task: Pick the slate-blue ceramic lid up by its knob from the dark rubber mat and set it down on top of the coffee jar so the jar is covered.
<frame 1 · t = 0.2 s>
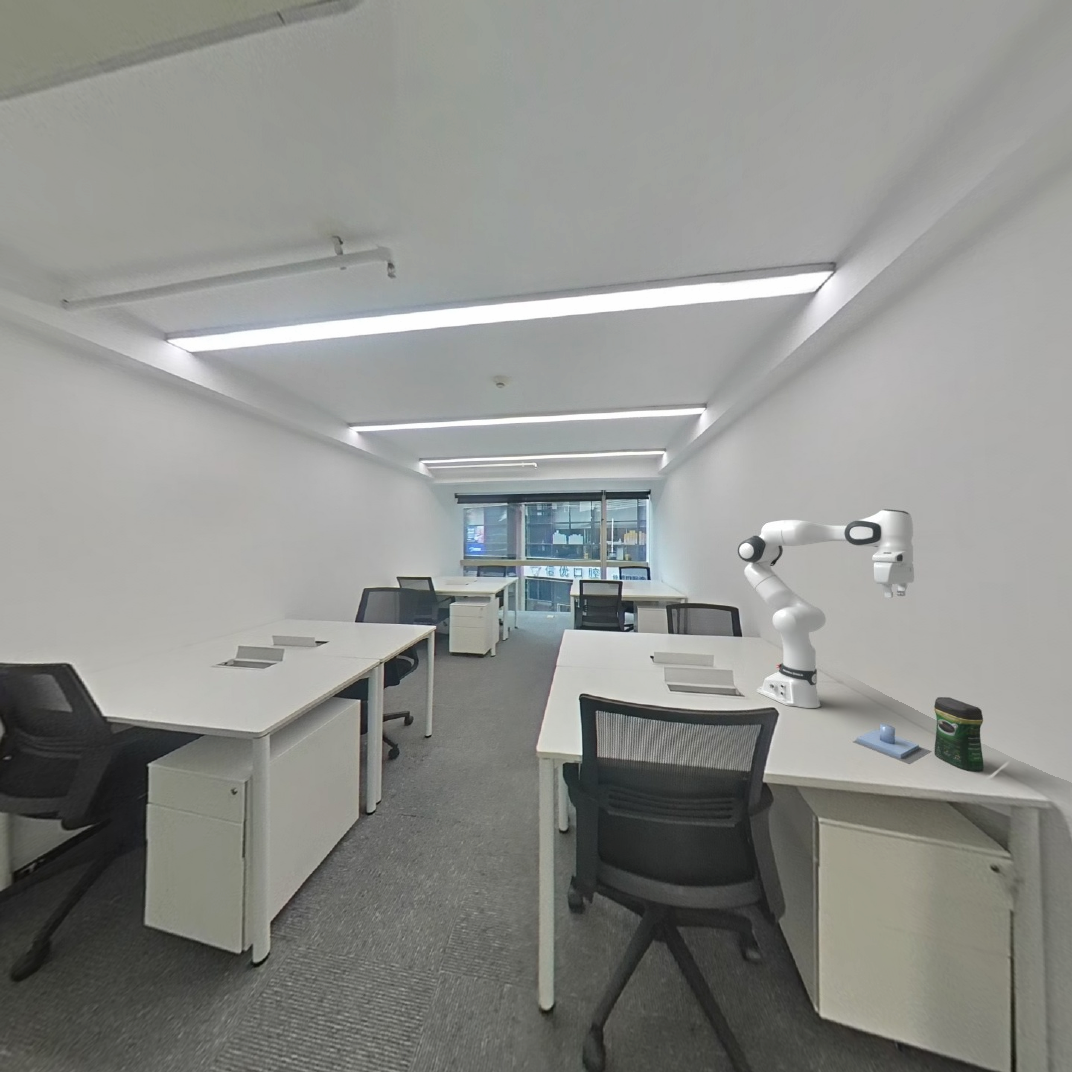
hand: (895, 596, 131), 47 cm above the table, tool pointing down, fingers open, 8 cm apart
coffee jar: (958, 764, 114), on the table
lid: (887, 744, 123), resting on mat
mat: (891, 747, 122), on the table
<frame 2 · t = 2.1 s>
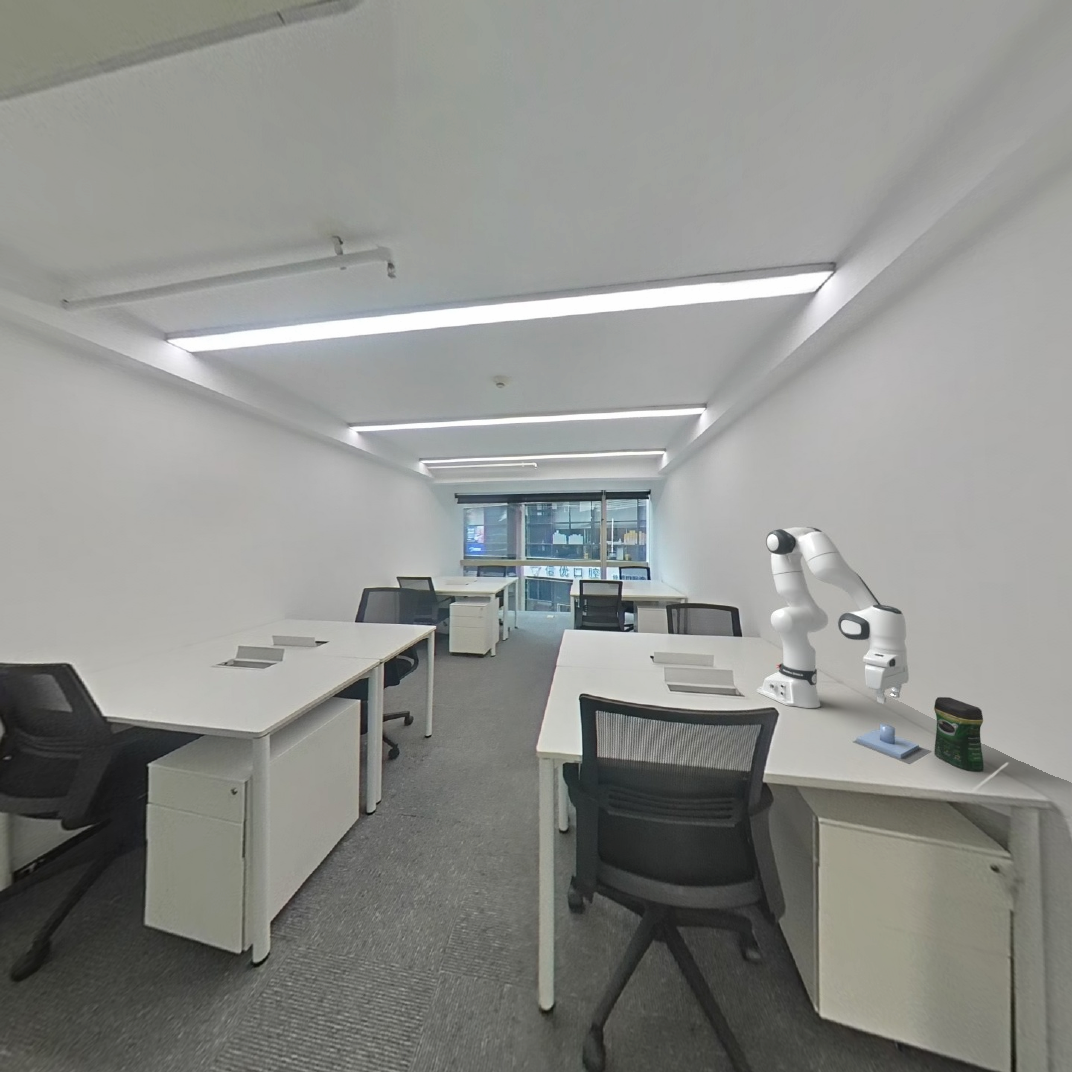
hand: (888, 699, 123), 15 cm above the table, tool pointing down, fingers open, 8 cm apart
nothing on the table moved.
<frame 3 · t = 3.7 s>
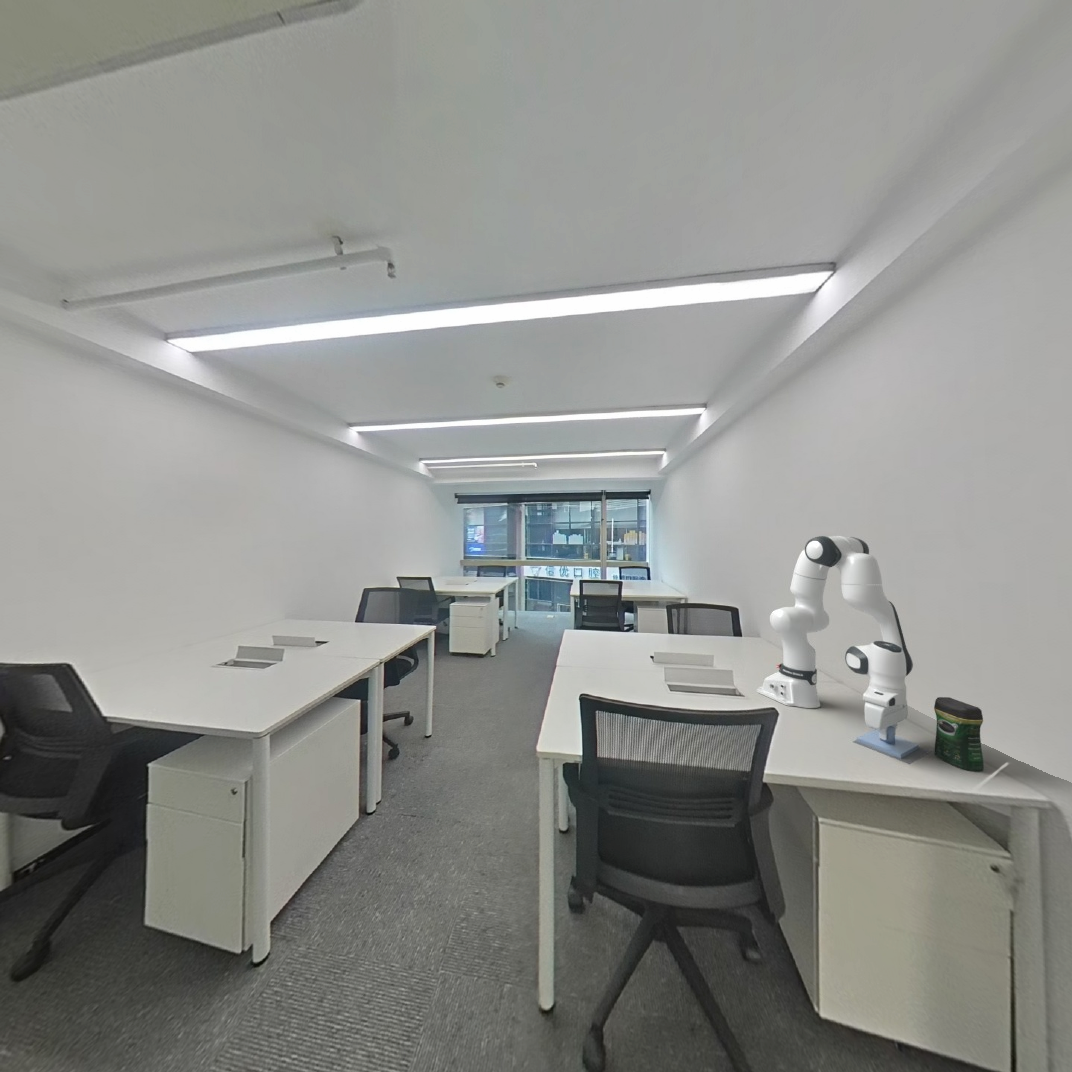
hand: (887, 737, 123), 3 cm above the table, tool pointing down, fingers closed on lid, 4 cm apart
lid: (887, 744, 123), resting on mat, touching gripper
everything else where it was.
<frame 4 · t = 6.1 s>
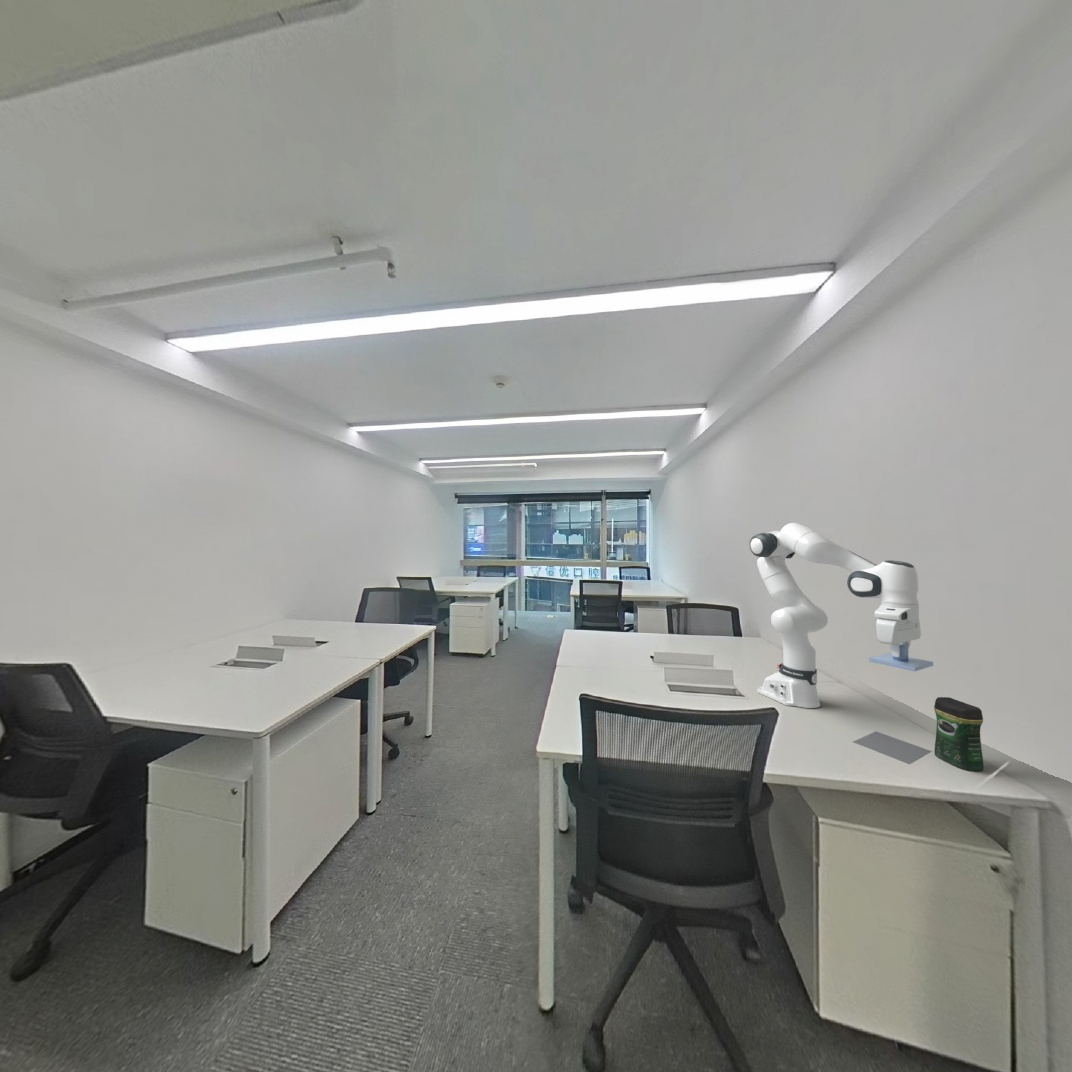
hand: (900, 655, 122), 30 cm above the table, tool pointing down, fingers closed on lid, 4 cm apart
lid: (900, 663, 122), point 27 cm above the table, touching gripper
everything else where it was.
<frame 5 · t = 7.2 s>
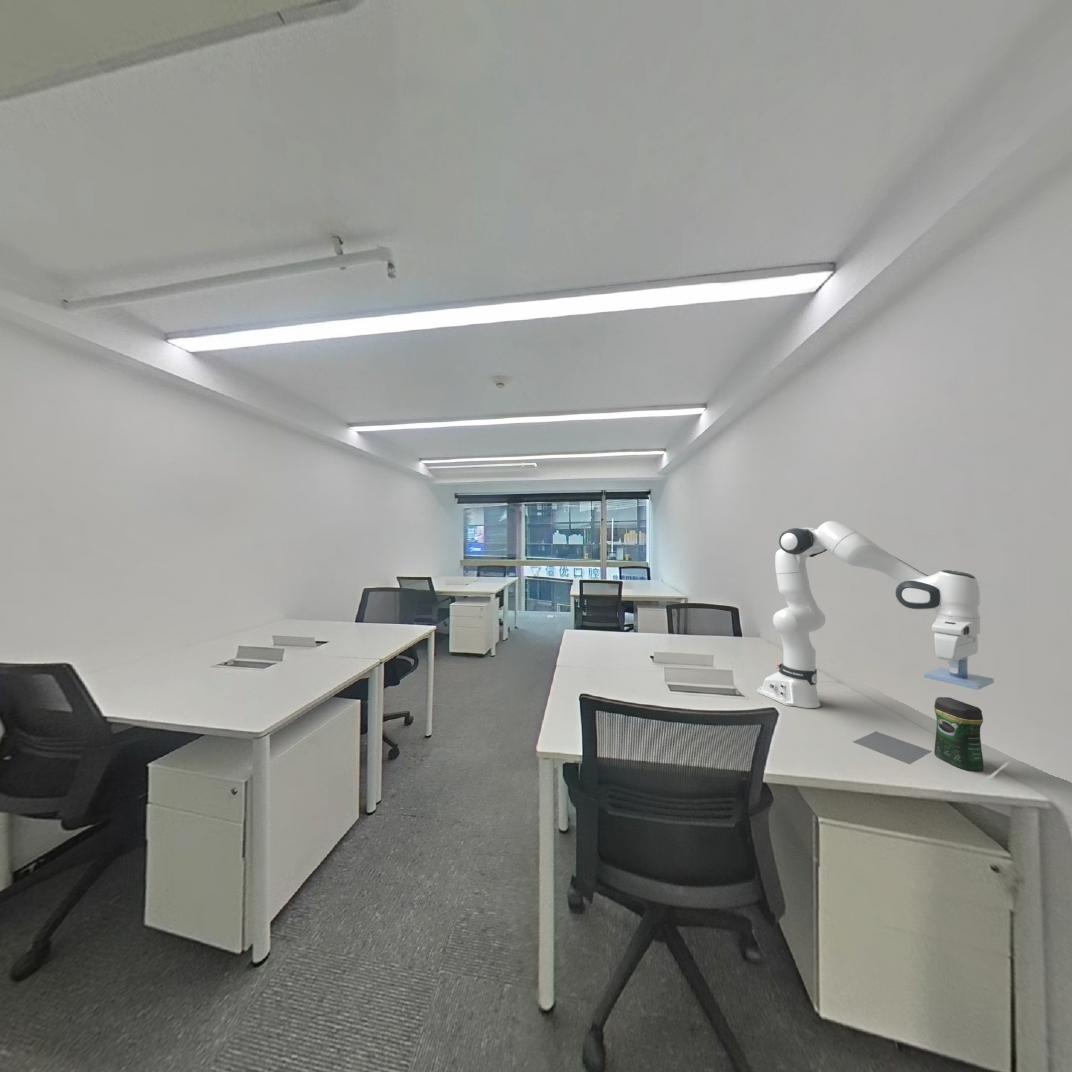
hand: (957, 671, 115), 27 cm above the table, tool pointing down, fingers closed on lid, 4 cm apart
lid: (958, 680, 114), point 25 cm above the table, touching gripper
everything else where it was.
when the fingers open (22 cm above the table, at t = 8.3 s): lid drops 1 cm, resting on coffee jar.
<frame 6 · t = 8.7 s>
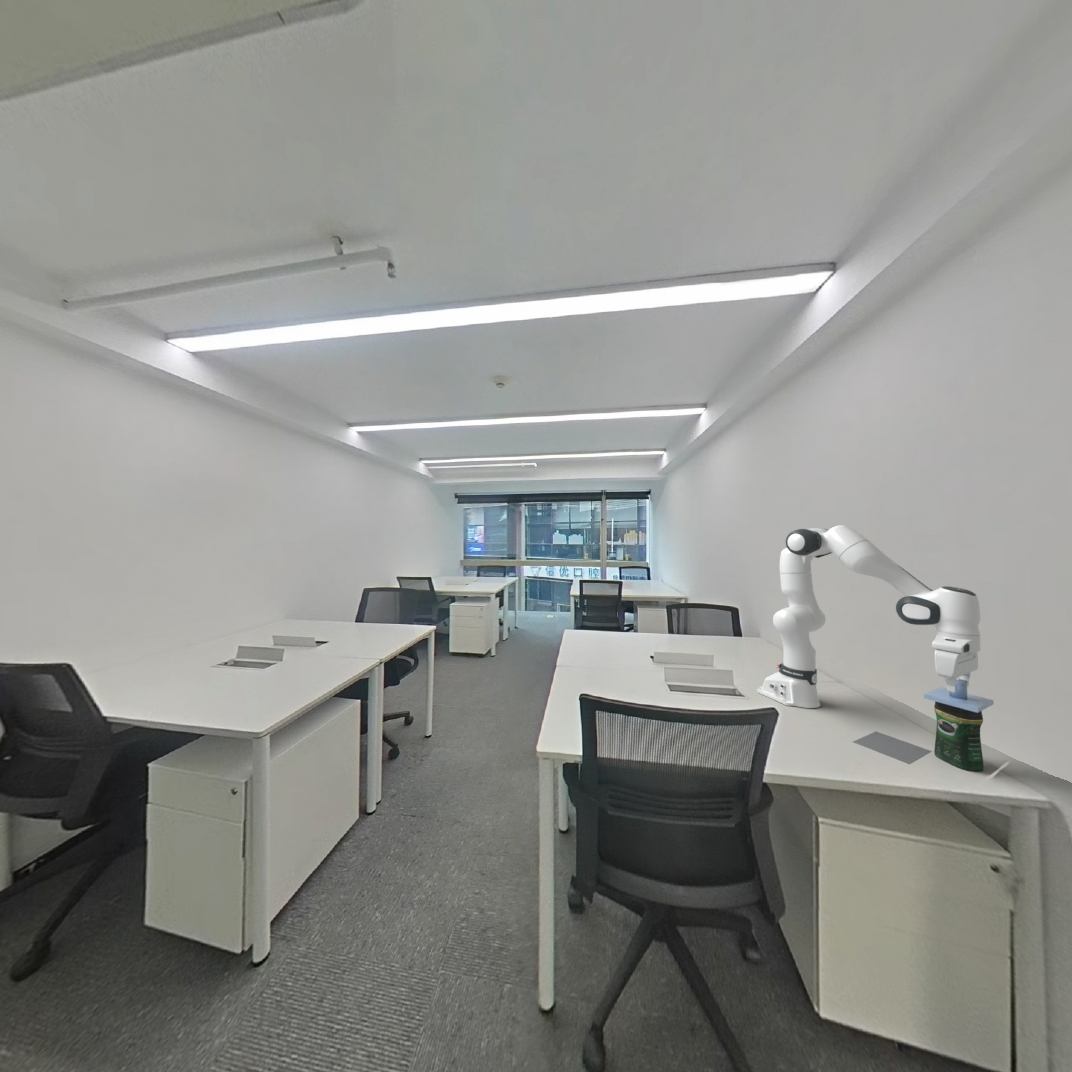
hand: (957, 688, 115), 22 cm above the table, tool pointing down, fingers open, 8 cm apart
coffee jar: (958, 764, 114), on the table, touching lid
lid: (958, 701, 114), point 18 cm above the table, touching coffee jar
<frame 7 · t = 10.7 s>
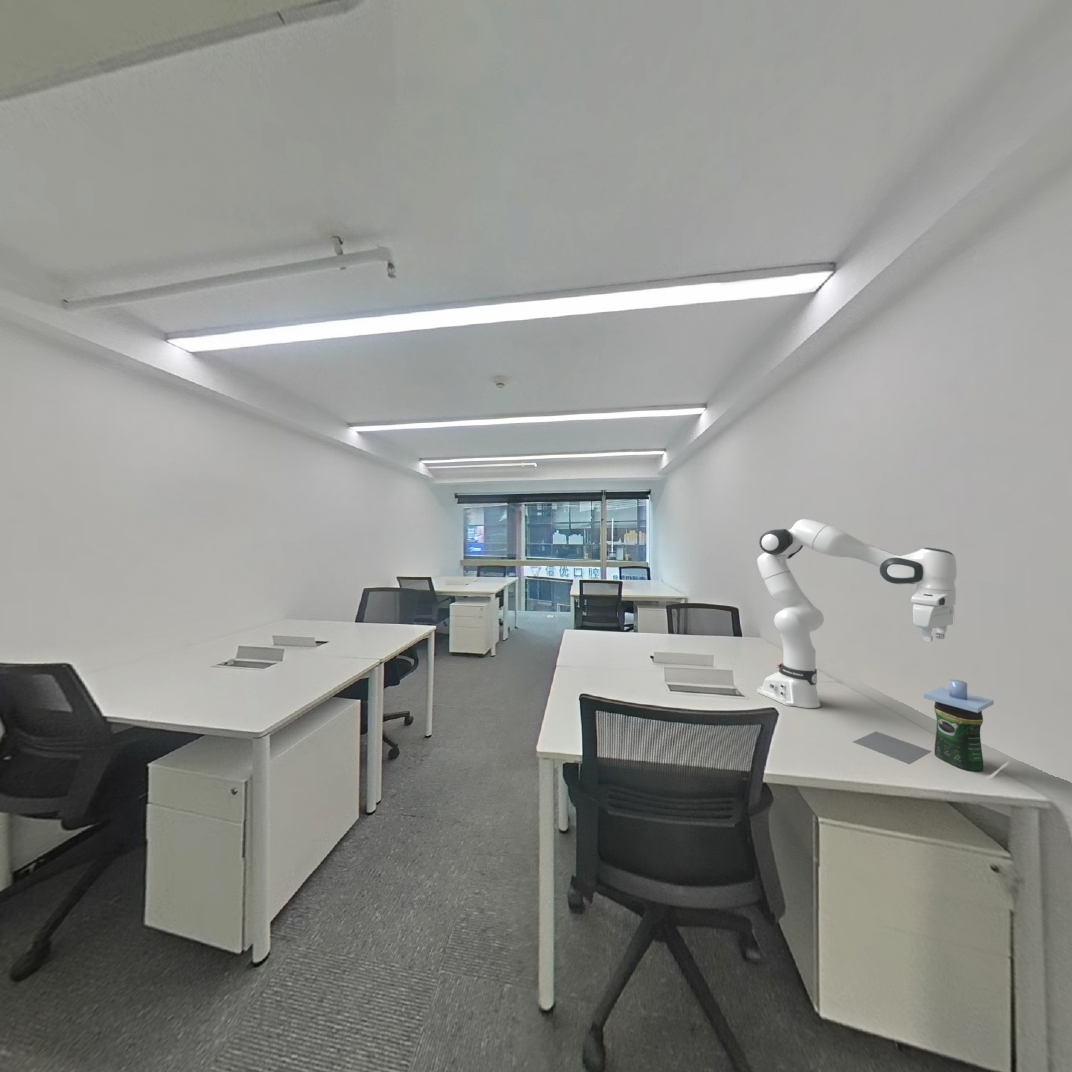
hand: (934, 639, 125), 34 cm above the table, tool pointing down, fingers open, 8 cm apart
nothing on the table moved.
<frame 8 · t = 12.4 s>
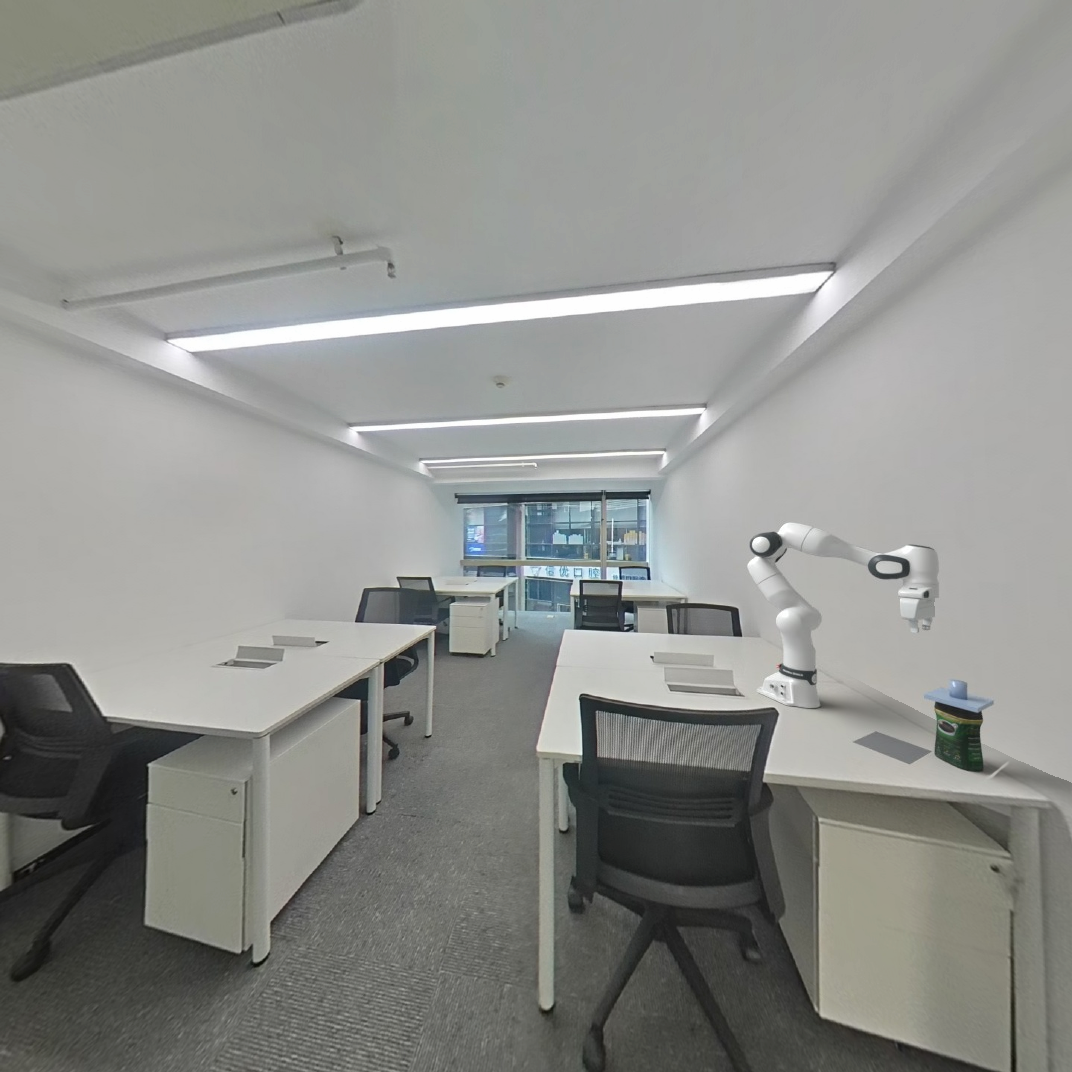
hand: (920, 631, 133), 35 cm above the table, tool pointing down, fingers open, 8 cm apart
nothing on the table moved.
at the end: lid 0.0 cm from the coffee jar (horizontally); lid point 18.5 cm above the table; lid tilted 0° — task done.
